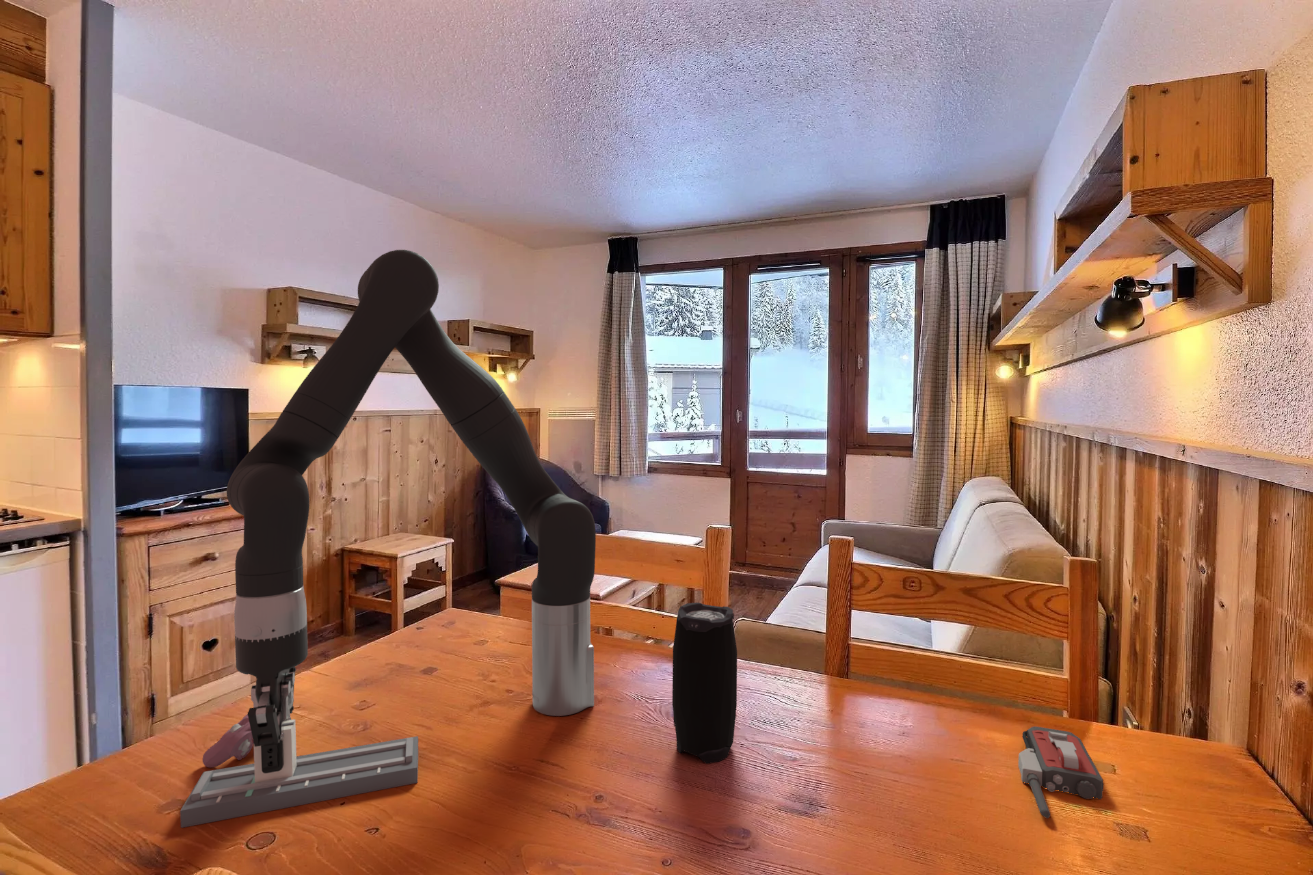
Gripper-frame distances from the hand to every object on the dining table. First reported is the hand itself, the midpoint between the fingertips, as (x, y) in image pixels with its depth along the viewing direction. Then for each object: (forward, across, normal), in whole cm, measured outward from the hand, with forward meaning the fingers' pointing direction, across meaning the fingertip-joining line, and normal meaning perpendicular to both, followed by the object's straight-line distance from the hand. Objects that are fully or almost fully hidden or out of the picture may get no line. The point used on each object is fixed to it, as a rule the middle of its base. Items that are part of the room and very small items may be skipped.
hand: (275, 762), depth 78 cm
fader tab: (+2, 0, 0) cm, 2 cm away
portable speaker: (+4, -9, -54) cm, 55 cm away
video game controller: (+4, +12, +6) cm, 14 cm away
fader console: (+4, 0, -4) cm, 5 cm away
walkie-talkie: (+4, -31, -93) cm, 98 cm away
